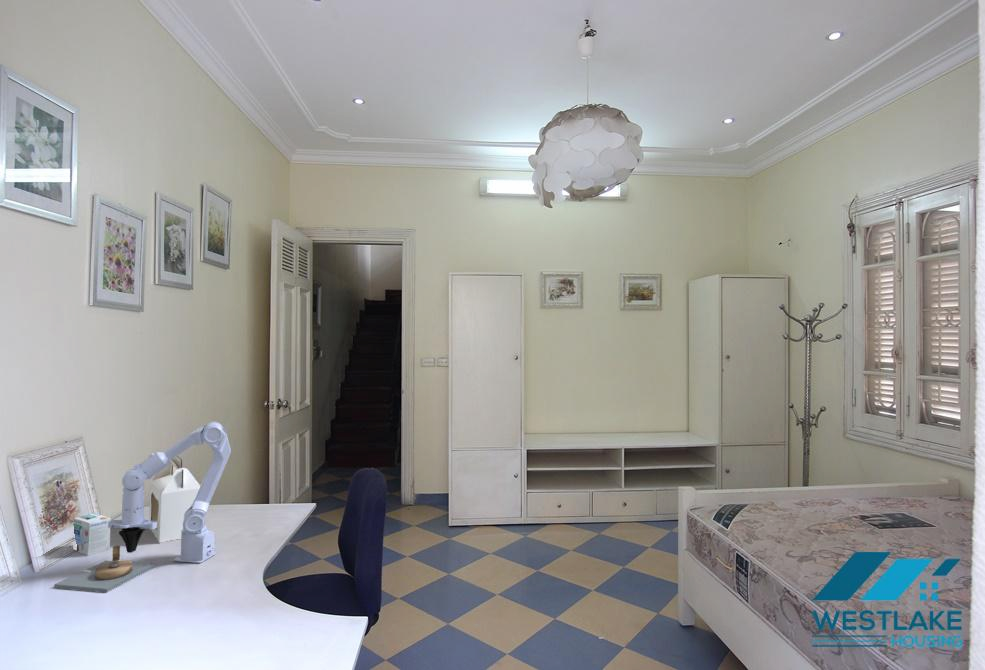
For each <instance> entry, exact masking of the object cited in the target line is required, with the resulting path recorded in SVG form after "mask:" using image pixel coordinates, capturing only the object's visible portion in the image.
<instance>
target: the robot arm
mask: <svg viewBox="0 0 985 670" xmlns="http://www.w3.org/2000/svg"><path fill="white" fill-rule="evenodd" d="M204 443H206V444H207V445H208V446H209V447H210V448H211V450H212V452H213V453H214V454H213V456H212V458H211V461H210V463H209V465H208V468H207V470H206V472H205V475H204V477H203V479H202V482H201V484H200V489H199V491H198V493H197V495H196V498H195V500H194V501H193V503H192V505H191V507H190V508H189V509H188V510H187V511H186V512H185V514H184V521H183V529H182V530H181V539H180V556H178V557H175V558H174V559H173V561H174V562H183V563H194V564H201V563H203V562H204V561H206V560H208V559H210V558H211V557H213V556H215V555H216V554H217V552H216V550H215V549H216V547H215V546H216V545H215V544H216V535H215V533H214V531H211V530H209V529H207V528H208V526H207V525H206V514H207V512H208V510H209V505H210V503H211V500H212V498H213V495H214V493H215V491H216V488H217V487H218V484H219V482H220V480H221V476H222V475H223V472H224V470H225V467H226V465H227V462H228V461H229V457H230V456H231V453H232V452H231V451H232V448H231V445H230V442H229V438H228V434H227V431H226V429H225V428H224V426H223V424H221V423H220V422H218V421H209V422H207V423H205V425H204V426H201V427H198V428H197V429H195V430H194V431H192V432H190V433H189V434H187V435H186V436H184V437H183V438H182V439H180V440H179V441H178V442H176V443H174V445H172V446H170V447H169V448H168V449H167V450H165V451H163V452H161V451H157V452H155V453H153V452H151V453H150V454H148V458H146V459H145V460H143V461H141V462H140V463H139V464H138V463H137V464H135V465H134V466H133V467H132V468H130V469H129V470H127V471H126V473H125V474H124V475H123V477H122V480H121V483H122V486H123V488H122V491H123V493H122V500H121V501H122V502H121V507H122V508H121V519H111V521H109V522H108V528H110V529H113V528H114V529H115V528H117V529H118V528H119V529H121V530H119V531H118V535H119V536H120V537H121V539H122V540H123V543H124V545H125V549H126V552H127V553H129V554H131V553H134V552H136V551H137V547H138V544H139V540H140V539H141V537H142V536H143V533H144V532H145V530H146V529H147V530H150V531H151V530H153V529H155V528H157V522H154V521H149V519H145V518H144V517H145V493H146V492H145V481H146V480H150V479H152V478H153V477H155V476H156V475H157V474H158V473H159V472H161V471H162V470H163V469H165V468H166V467H168V466H169V463H170V460H171V459H172V458H174V457H176V456H179V455H180V454H181V453H184V452H185V451H186V450H189V449H190V448H191V447H193V446H197V445H204Z"/></svg>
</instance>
